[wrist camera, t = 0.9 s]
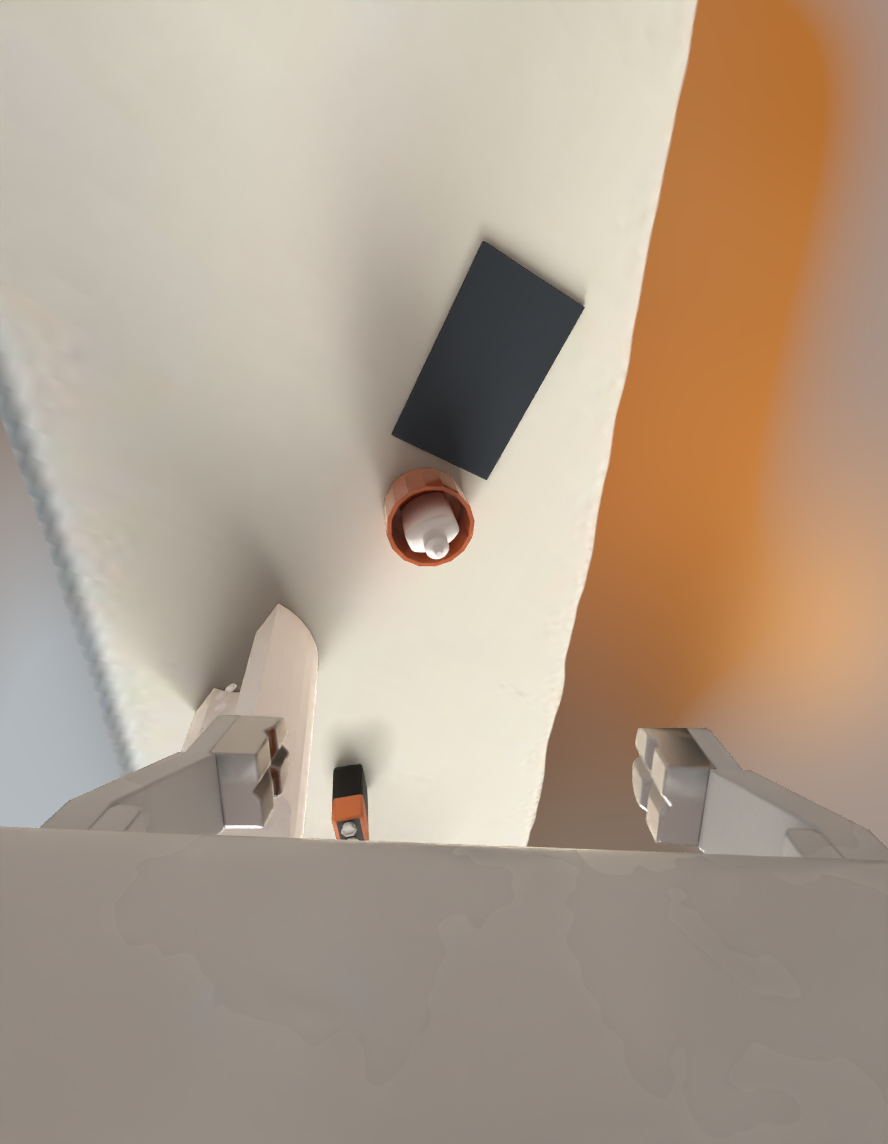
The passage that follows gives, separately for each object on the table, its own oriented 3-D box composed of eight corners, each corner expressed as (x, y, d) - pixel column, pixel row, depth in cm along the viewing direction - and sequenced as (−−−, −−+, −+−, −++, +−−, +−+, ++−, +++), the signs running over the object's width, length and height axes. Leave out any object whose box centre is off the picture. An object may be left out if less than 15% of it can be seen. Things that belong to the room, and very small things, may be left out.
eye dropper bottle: (402, 488, 60) (412, 533, 50) (450, 491, 61) (470, 535, 51) (398, 523, 62) (408, 573, 52) (446, 526, 63) (464, 575, 53)
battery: (362, 762, 80) (363, 820, 72) (367, 791, 84) (369, 851, 75) (332, 766, 80) (330, 826, 71) (339, 796, 83) (338, 856, 75)
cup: (405, 454, 58) (410, 471, 53) (477, 488, 62) (489, 507, 56) (371, 525, 62) (372, 548, 57) (440, 553, 65) (448, 577, 60)
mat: (482, 241, 50) (483, 240, 49) (583, 307, 54) (584, 307, 53) (391, 434, 57) (391, 434, 57) (486, 479, 61) (486, 480, 61)
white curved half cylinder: (188, 710, 71) (272, 600, 65) (265, 741, 76) (350, 641, 69) (67, 1034, 41) (201, 885, 34) (207, 1053, 45) (348, 924, 39)
